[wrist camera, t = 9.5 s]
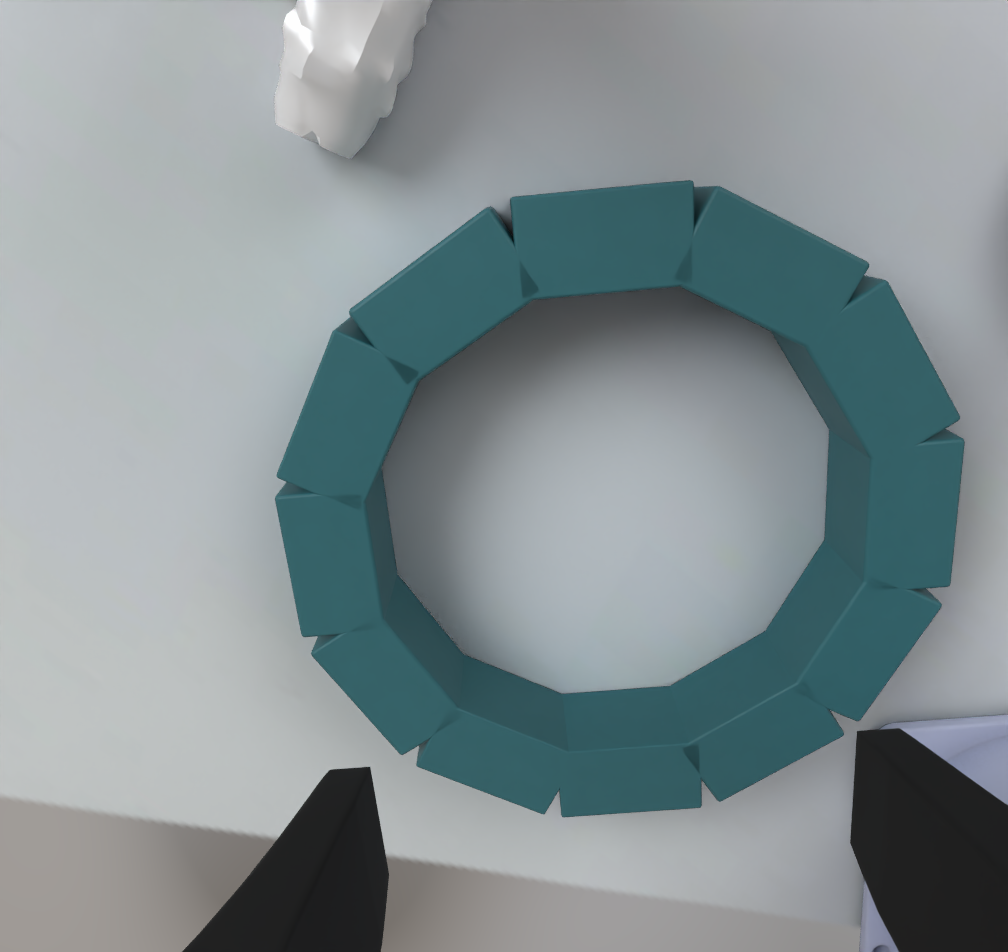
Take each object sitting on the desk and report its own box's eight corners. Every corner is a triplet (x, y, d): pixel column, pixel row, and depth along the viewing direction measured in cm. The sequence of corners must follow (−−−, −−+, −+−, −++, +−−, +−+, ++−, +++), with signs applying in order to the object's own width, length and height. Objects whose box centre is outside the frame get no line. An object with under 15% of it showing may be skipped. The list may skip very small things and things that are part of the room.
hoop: (887, 730, 23) (931, 792, 20) (356, 768, 23) (339, 834, 21) (931, 156, 18) (996, 151, 15) (257, 220, 18) (220, 225, 16)
